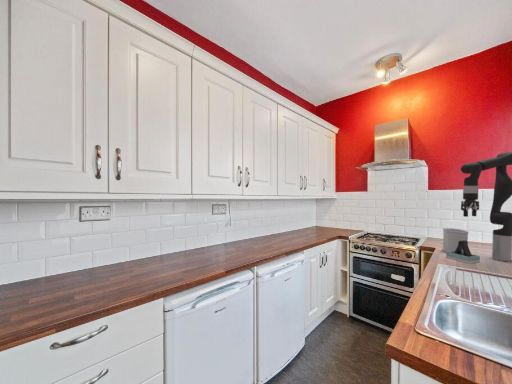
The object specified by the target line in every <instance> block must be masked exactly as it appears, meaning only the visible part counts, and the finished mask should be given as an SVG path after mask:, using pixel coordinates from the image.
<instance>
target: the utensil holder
mask: <svg viewBox="0 0 512 384" xmlns="http://www.w3.org/2000/svg"><path fill="white" fill-rule="evenodd" d="M442 230H443V231H442V234H443V235H442V237H443V238H442V251H443V252H445V253H446V252H448V251H455V250H456V248H457V247H458V242H459V241H463V240H465V241H467V242H468V240H469V239H468V236H469V230H466V229H461V228H454V227H453V228H452V227H445V228H444V227H443V228H442ZM462 252H463V249H462Z"/></svg>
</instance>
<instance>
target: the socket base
mask: <svg viewBox="0 0 512 384" xmlns="http://www.w3.org/2000/svg"><path fill="white" fill-rule="evenodd" d="M454 252H455V251H448V252H445V254H446V255H445V257H446V258H448V259H452V260H455V261H459V262H464V263H467V264H473V263H480V258H481V257H480V256H481V255H478V254H473V253H471V255H472V256H471V257H468V256H464V252H461V255H459V254H455V253H454Z"/></svg>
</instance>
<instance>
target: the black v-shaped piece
mask: <svg viewBox="0 0 512 384" xmlns="http://www.w3.org/2000/svg"><path fill="white" fill-rule="evenodd" d="M462 249H463V252H464V256H468V257H471V256H472V255H471V254H472V252H471V250H470V247H469V242H468V241H465V240H463V241H459V242H458V247H457V248H456V250H455V252H454V253H455V254H459V255H461V252H462Z"/></svg>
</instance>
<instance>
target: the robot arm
mask: <svg viewBox="0 0 512 384" xmlns="http://www.w3.org/2000/svg"><path fill="white" fill-rule="evenodd" d="M507 166H512V151H506V152H505V151H504V152H500V153H498V154H497V155H496V157H491V158H485V159H482V160H478V161H474V162H467V163H464V164H463V165H462V166H461V168H460V171H461V172H462V173H463V174H464V175H465V174H466V175H469V176H466V177H465V178H463V190H462V191H463V192H462V200H461V204H460V211H463V215H462V216H463V217H465V218H466V217H469V210H470V209H471V216H472V217H477V211H479V210H480V201H479V179H480V176H481V173H482V172H483V171H487V170H491V169H493V168H494V169H495V181H494V188H493V199H492V205H491V209H490V213H489V222H490V223H491V224H492V225H497V226H499V225H500V226H502V227H501V228H498V229H493V230H492V243H491V244H492V247H491V250H492V251H491V258H492V259H493V260H496V261H500V262H512V212H510V211H501V210H502V207H503V205H504V204H505V203H506V202H507V200H509V199H510V198H511V197H512V178H511V177H510V175H509V174H508V171H507V168H508V167H507Z"/></svg>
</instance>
